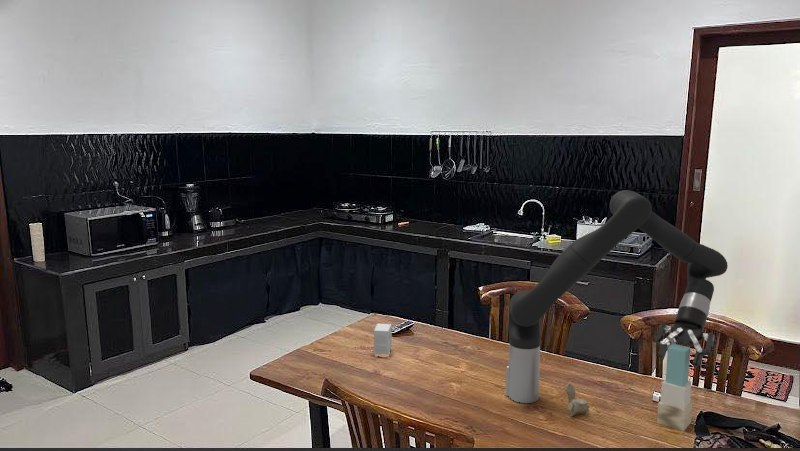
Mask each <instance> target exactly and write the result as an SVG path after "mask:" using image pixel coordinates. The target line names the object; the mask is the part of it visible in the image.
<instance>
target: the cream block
mask: <svg viewBox="0 0 800 451" xmlns="http://www.w3.org/2000/svg"><path fill="white" fill-rule="evenodd" d="M692 384H693V383H692V381H691V380H688V382H687V383H686V384H685V385H684V386H683V387H681V386H677V385H674V384H670V383H666V378H665V379H664V380H663V381H661V391H660V401H661V403H663V404H666V405H670V406H673V407H676V408H680V409H683V410H684V409H685V407H686V406H687V405H688V404H689V403H690V401H691V399H692V398H691V394H692Z"/></svg>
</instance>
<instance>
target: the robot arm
mask: <svg viewBox="0 0 800 451" xmlns="http://www.w3.org/2000/svg"><path fill="white" fill-rule="evenodd" d="M609 210H610V212H611V215H612V216H611V217H610V218H608V220H607V221H606V222H605V223H603V224H602V226H600V227H599V228H597V229H595V230H593V231H592V232H591V231H590V232H588V233H587V234H585V235H583V236H581V237H579V238H577V239H576V240H574V241H573V242H571V243H570V245H568V246H567V247H566V248H565V249H564V250H563V251H562V252H561V253H559V255H558V256H557V257H556V259H555V260H554V261H553V262H552V264H551V266H550V267H549V268H548V270H547V272H546V273H545V275H544V276H543V277H542V279H541V280H540V281H539V282H538V283H537V284H536V285H535V286H534V287H533V288H532V289H530V290H519V291H517V292H515V293H514V294H513V295H511V298H510V300H509V306H508V310H509V311H508V336H509V338H508V339H509V340H508V341H509V343H508V344H509V345H508V346H509V347H508V350H509V351H508V352H509V354H508V365H507V366H506V368H505V396H506V397H508V396H509V397H508V398H509V399H510V398H511V399H510V400H512V401H513V400H514V402H515V403H516V402H517V403H519V402H520V404H532V403H535V402H537V401H538V400H539V398H540V365H541V364H540V363H541V362H540V361H541V359H540V357H541V329H540V320H541V319H542V318H543V317H544V315H546V313H547V312H548V311H549V310H550V308H551V307H552V306H553V305H554V304H555V303H556V302H557V301H558V300H559V299H560V298H561V297H562V296H563V295H565V294H566V293H567V292H568V291H569V290H570V289H571V288H572V287H574V286H575V285H576V284H577V283H578V282H579V281H580V280H581V279H582V278H584V277H585V276H586V275H587V274H588V273H590V271H591V270H592V269H593V268H595V266H596V265H597V264H598V263H599V262H600V261H601V260H603V258H605V257H606V256H607V255H608V254H609V253H610V252H611V251H612V250H614V248H615V247H616V246H617V245H619V244H620V243H621V242H622V241H624V239H626V238H627V237H629V236H630V235H631V234H633V233H634V232H635V231H636V230H640V231H642V232H643V233H645V234H646V235H647V236H648V237H649V238H650V239H652V240H653V241H655V242H656V243H657V244H658V245H659V246H661V247H662V248H663V249H664V250H665V251H666V252H668V253H669V254H671V255H672V256H674V257H675V258H676V259H677V260H679V261H681V262H683V263H685V264H687V263H688V264H687V268H686V272H687V274H686V275H687V276H686V279H687V284H686V285H687V286H686V288H685V291H684V294H683V297H682V299H681V301H680V303H679V306H678V311H677V312H676V313H677V314H676V316H675V319H674V322H673V325H672V326H670V325H667V324H666V323H665V322H661V324H660V326H659V329H658V331H657V333H656V336H655V338H654V339H655V343H656V344H657V345H658V346H659V349H658V352H657V353H658V356H659V358H660V360H665V357H666V355H667V351H668V347H670V346H671V345H672V344H676V343H678V345H686V346H687V347H691V346H693V347H694V349H695V350H696V352H695V354H694V357H693V361H692V367H693V368H695V369H697V368H698V367H700V365H701V363H702V359H703V357H704V356H707V357H710V356H712V354H713V348H714V344H715V335H714V333H713V332H709V333H706V332H705V333H704V329H705V327H706V323H707V319H708V317H709V315H710V314H709V311H710V307H711V302H712V298H713V296H714V291H715V285H714V284H713V283H712V282H711V281H710V280H708V279H709V278H714V277H720V276H722V275H724V274H725V273H726V272H727V270H728V266H729V265H728V262H727V259H726V257H725V256H724V255H723V254H721V252H719V251H717V250H716V249H714V248H712V247H709V246H707V245H704V244H701V243H699V242H696V240H694V239H693V238H692V237H690V236H689V235H688V234H687V233H685V232H683V231H682V230H680V229H679V228H677V227H675V226H674V225H672V224H671V223H669V222H668V221H666V219H663V218H662V217H660V216H659V215H657V214H656V213H655V212H654V211H653V208H652V204H651V202H650V200H649V199H648V198H646V197H644V196H643V195H641V194H639V193H637V192H636V191H633V190H628V189H624V190H620V191H617V192H616V193H615V194H613V195H612V196H611V199H610V201H609ZM707 278H708V279H707ZM669 332H671V333H670V334H669ZM666 334H668V335H667V336H666ZM665 336H666V338H664V337H665ZM702 339H704V340H705V343H706V344H705V348H702V347H701V344H700V343H699V342H700V341H701V340H702Z"/></svg>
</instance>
